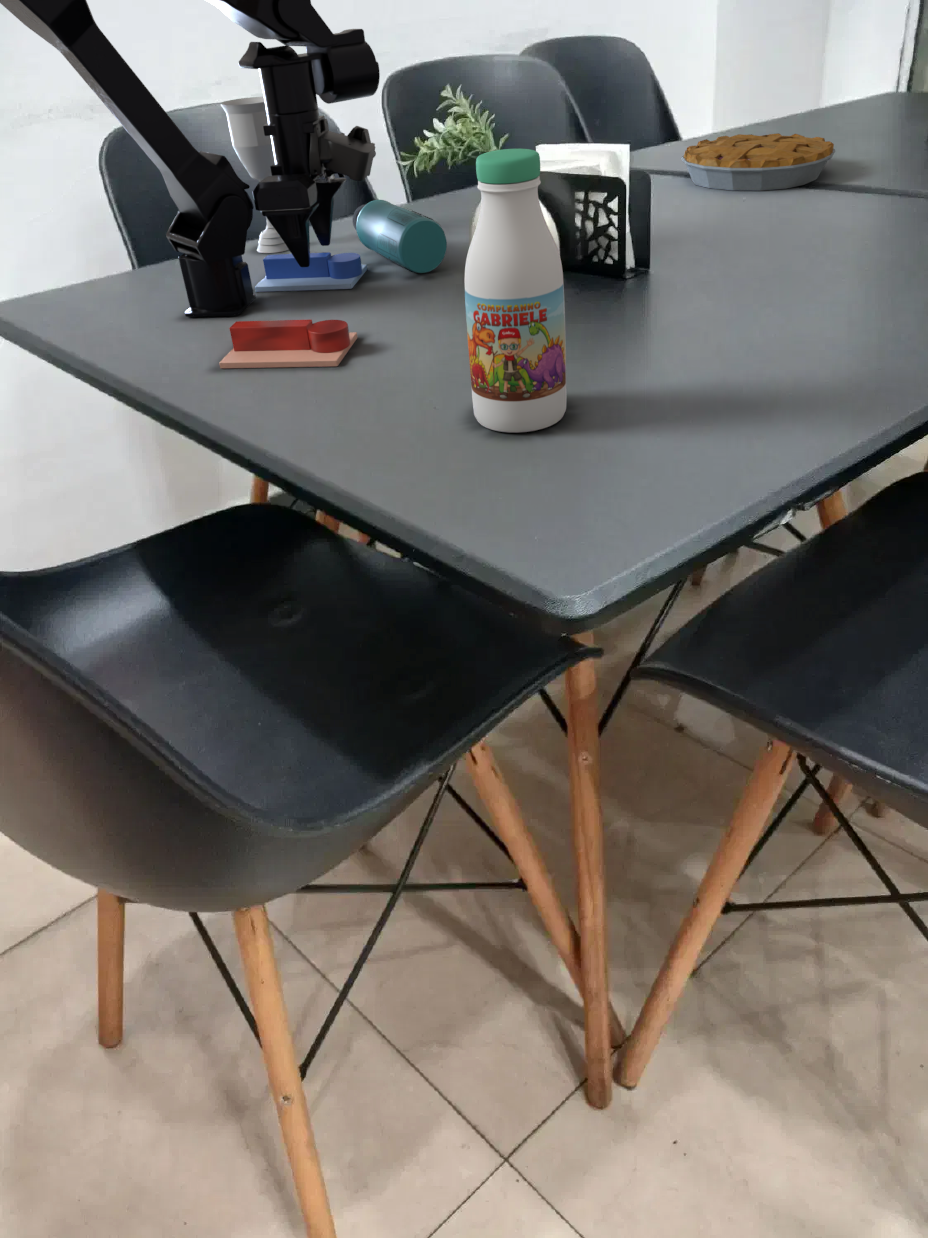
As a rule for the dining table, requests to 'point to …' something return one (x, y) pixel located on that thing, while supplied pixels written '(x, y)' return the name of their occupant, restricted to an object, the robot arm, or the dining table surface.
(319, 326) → the red bar with disc
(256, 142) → the chalice
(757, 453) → the dining table surface
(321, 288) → the mat blue
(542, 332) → the milk bottle
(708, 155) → the pie
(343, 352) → the pink flat board
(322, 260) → the blue bar with disc
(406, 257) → the beverage bottle
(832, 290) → the dining table surface
